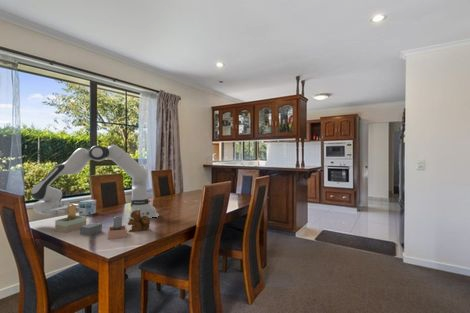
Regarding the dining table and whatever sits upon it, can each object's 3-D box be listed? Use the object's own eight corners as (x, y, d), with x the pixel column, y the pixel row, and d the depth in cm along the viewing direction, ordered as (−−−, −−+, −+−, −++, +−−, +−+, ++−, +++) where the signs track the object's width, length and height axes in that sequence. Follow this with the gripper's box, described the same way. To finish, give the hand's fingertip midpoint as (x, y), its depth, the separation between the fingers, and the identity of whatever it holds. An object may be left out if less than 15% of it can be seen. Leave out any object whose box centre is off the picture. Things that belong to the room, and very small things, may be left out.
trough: (75, 225, 164) (75, 215, 164) (86, 226, 161) (86, 216, 161) (55, 231, 150) (55, 220, 150) (66, 232, 148) (66, 221, 148)
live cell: (75, 221, 159) (76, 203, 159) (74, 223, 155) (75, 204, 155) (67, 222, 157) (68, 203, 157) (66, 223, 153) (67, 205, 153)
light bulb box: (85, 215, 189) (86, 202, 189) (78, 215, 190) (78, 201, 190) (96, 212, 199) (96, 199, 200) (89, 212, 201) (89, 199, 201)
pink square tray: (125, 233, 150) (125, 225, 150) (126, 238, 141) (126, 229, 141) (108, 235, 146) (108, 226, 146) (107, 240, 137) (108, 231, 137)
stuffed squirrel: (130, 228, 161) (131, 208, 161) (152, 228, 162) (153, 208, 162) (125, 233, 151) (126, 211, 151) (148, 233, 152) (149, 212, 152)
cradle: (92, 230, 153) (93, 222, 153) (101, 232, 151) (102, 223, 151) (80, 234, 144) (80, 225, 144) (89, 236, 142) (89, 227, 143)
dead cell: (121, 234, 146) (121, 214, 147) (121, 236, 143) (122, 216, 143) (112, 235, 144) (113, 215, 145) (112, 237, 141) (113, 217, 141)
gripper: (39, 207, 149) (56, 209, 146) (70, 201, 169) (85, 203, 165) (39, 217, 149) (56, 219, 145) (69, 210, 169) (85, 212, 165)
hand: (72, 210), depth 156 cm, fingers open, 8 cm apart
